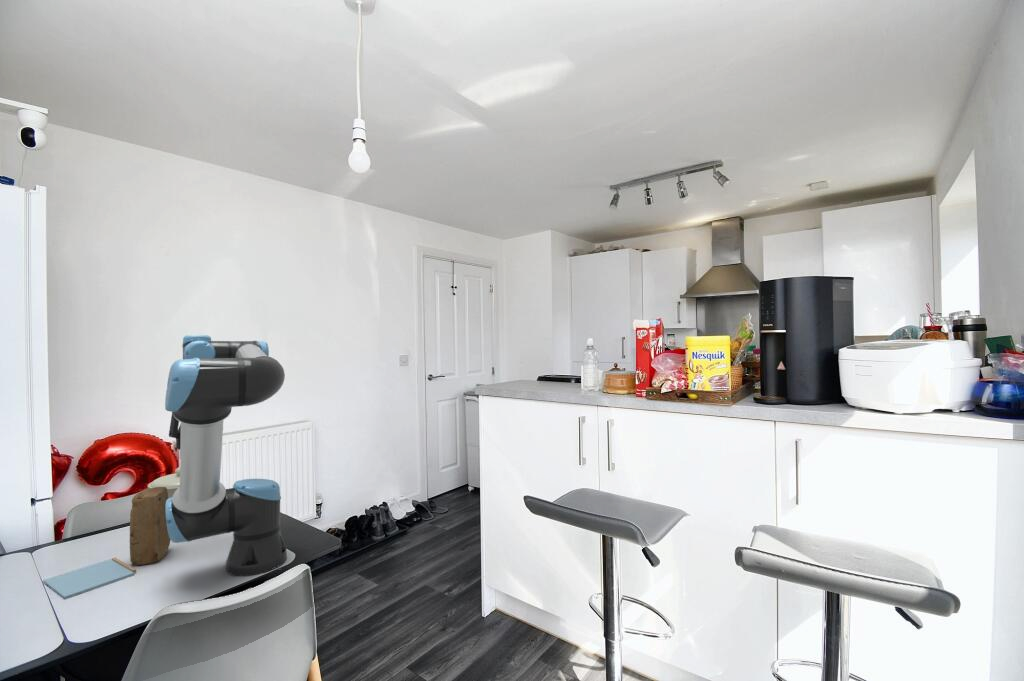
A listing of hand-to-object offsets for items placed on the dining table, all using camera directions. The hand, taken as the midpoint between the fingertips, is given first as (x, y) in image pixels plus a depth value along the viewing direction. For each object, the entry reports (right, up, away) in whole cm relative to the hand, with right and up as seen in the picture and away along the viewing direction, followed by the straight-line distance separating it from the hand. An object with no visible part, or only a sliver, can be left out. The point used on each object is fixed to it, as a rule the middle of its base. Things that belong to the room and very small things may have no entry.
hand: (196, 456), depth 146 cm
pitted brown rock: (-6, -27, -11) cm, 30 cm away
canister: (-13, -28, +11) cm, 32 cm away
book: (-13, -27, -23) cm, 38 cm away
